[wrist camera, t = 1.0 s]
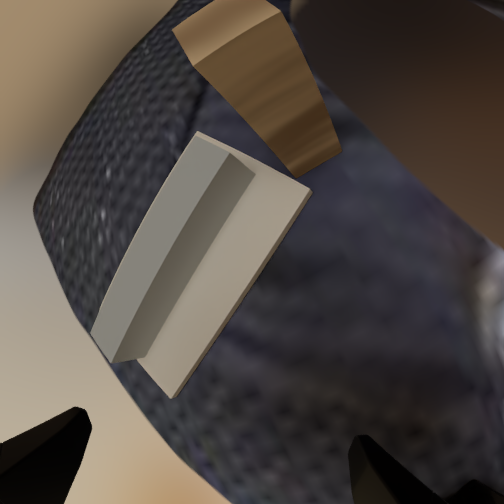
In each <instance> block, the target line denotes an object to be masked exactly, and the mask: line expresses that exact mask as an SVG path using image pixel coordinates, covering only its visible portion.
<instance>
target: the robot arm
mask: <svg viewBox="0 0 504 504" xmlns="http://www.w3.org/2000/svg"><path fill="white" fill-rule="evenodd" d="M91 431H92V424H91V422H90V419H89V417H88V414H87V412H86V410H85V409H82V408H79V407H73V408H71V409H69V410H67V411H65V412H63V413H61V414H59V415H57V416H55V417H53V418H52V419H50V420H48V421H46V422H44V423H42V424H40V425H38V426H36V427H34V428H32V429H30V430H28V431H25V432H24V433H22V434H19V435H17V436H15V437H13V438H11V439H9V440H7V441H5V442H3V443H0V504H64V502H65V500H66V497H67V495H68V493H69V490H70V488H71V486H72V483H73V481H74V479H75V476H76V474H77V471H78V469H79V467H80V465H81V462H82V459H83V456H84V453H85V449H86V446H87V443H88V440H89V437H90V434H91ZM348 459H349V468H350V478H351V489H352V495H353V500H354V504H504V496H503V495H501V494H499V493H497V492H496V491H494V490H492V489H490V488H489V487H487V486H485V485H483V484H482V483H480V482H478V481H477V480H473V481H471V482H469V483H468V484H467V485H466V486H465V487H464V488H462V489H461V490H460V491H459V492H458V493H457V494H456V495H454V496H453V497H452V498H451V499H450V500H448V501H447V502H446V501H445V500H443V499H442V498H441V497H439V496H438V495H437V494H436V493H433V491H432V490H431V489H429V488H428V487H427V486H426V485H425V484H423V483H422V482H421V481H420V480H419V479H417V478H416V477H415V476H414V475H413V474H412V473H410V472H409V471H408V470H407V469H406V468H405V467H403V466H402V465H401V464H400V463H399V462H398V461H397V460H395V459H394V458H393V457H392V456H391V455H390V454H389V453H387V452H386V451H385V450H384V449H383V448H382V447H381V446H380V445H378V444H377V443H376V442H375V441H374V440H373V439H372V438H371V437H370V436H368V435H357V436H355V437H354V439H353V442H352V444H351V446H350V449H349V452H348ZM473 485H474V486H473ZM471 486H473V487H471Z"/></svg>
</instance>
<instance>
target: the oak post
mask: <svg viewBox="0 0 504 504" xmlns="http://www.w3.org/2000/svg"><path fill="white" fill-rule="evenodd" d="M172 30H173V32H174V34H175V36H176V37H177V39H178V41H179V42H180V44H181V46H182V48H183V49H184V51H185V53H186V55H187V56H188V58H189V60H190V62H191V63H192V65H193V67H194V68H195V69H196V70H197V71H199V72H200V73H201V74H202V75H203V76H204V77H205V78H206V79H207V80H208V81H209V83H210V84H211V85H212V86H213V87H214V88H215V89H216V90H217V91H218V92H219V93H220V94H221V95H222V96H223V97H224V98H225V99H226V100H227V101H228V102H229V103H230V104H231V105H232V106H233V107H234V109H235V110H236V111H237V112H238V113H239V114H240V115H241V116H242V117H243V118H244V119H245V120H246V122H247V123H248V124H249V125H250V126H251V127H252V128H253V129H254V130H255V132H256V133H257V134H258V135H259V136H260V137H261V138H262V139H263V141H264V142H265V143H266V144H267V145H268V146H269V147H270V149H271V150H272V151H273V152H274V153H275V154H276V156H277V157H278V158H279V159H280V160H281V161H282V163H283V164H284V165H285V166H286V167H287V169H288V170H289V171H290V172H291V173H292V175H293V176H294V177H295V178H298V177H300V176H301V175H303V174H305V173H306V172H308V171H310V170H311V169H313V168H315V167H317V166H318V165H320V164H322V163H323V162H325V161H327V160H328V159H330V158H332V157H334V156H335V155H337V154H339V153H341V152H342V149H341V146H340V143H339V140H338V138H337V135H336V132H335V130H334V127H333V124H332V122H331V119H330V116H329V114H328V111H327V109H326V106H325V104H324V101H323V99H322V96H321V94H320V92H319V89H318V87H317V85H316V82H315V80H314V78H313V75H312V73H311V71H310V69H309V66H308V64H307V62H306V60H305V58H304V56H303V54H302V51H301V49H300V47H299V45H298V43H297V41H296V39H295V37H294V35H293V33H292V31H291V29H290V27H289V25H288V23H287V22H286V20H285V18H284V16H283V14H282V12H281V11H280V10H279V9H277V8H276V7H274V6H273V5H272V4H270V3H269V2H267V1H266V0H215V1H213V2H212V3H210V4H208V5H207V6H205V7H204V8H202V9H201V10H199V11H198V12H196V13H195V14H193V15H192V16H190V17H189V18H187V19H186V20H185V21H183V22H182V23H180V24H179V25H178V26H176V27H175V28H174V29H172Z"/></svg>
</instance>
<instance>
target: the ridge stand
mask: <svg viewBox="0 0 504 504" xmlns="http://www.w3.org/2000/svg"><path fill="white" fill-rule="evenodd" d="M312 193H313V192H312V191H311V190H310V189H309V188H307V187H306V186H304V185H302V184H300V183H299V182H297V181H295V180H293V179H291V178H289V177H288V176H286V175H284V174H282V173H280V172H278V171H277V170H275V169H273V168H271V167H269V166H267V165H265V164H263V163H261V162H259V161H257V160H256V159H254V158H252V157H250V156H248V155H246V154H244V153H242V152H240V151H238V150H236V149H234V148H232V147H230V146H228V145H226V144H223V143H221V142H219V141H217V140H215V139H213V138H211V137H209V136H207V135H204V134H202V133H200V132H198V131H197V132H196V134H195V135H194V137H193V138H192V140H191V141H190V143H189V144H188V146H187V147H186V149H185V150H184V152H183V154H182V155H181V157H180V158H179V160H178V161H177V163H176V165H175V166H174V168H173V169H172V171H171V173H170V174H169V176H168V178H167V179H166V181H165V183H164V184H163V186H162V188H161V189H160V191H159V193H158V195H157V196H156V198H155V200H154V201H153V203H152V205H151V207H150V209H149V210H148V212H147V214H146V216H145V218H144V219H143V221H142V223H141V225H140V227H139V229H138V231H137V232H136V234H135V236H134V238H133V240H132V242H131V244H130V246H129V248H128V250H127V252H126V254H125V256H124V258H123V260H122V262H121V264H120V266H119V268H118V270H117V272H116V274H115V276H114V278H113V281H112V283H111V285H110V287H109V289H108V291H107V294H106V296H105V298H104V300H103V303H102V305H101V307H100V309H99V310H100V311H99V314H98V316H97V318H96V321H95V323H94V326H93V328H92V330H91V333H90V334H91V335H92V337H93V338H94V340H95V341H96V343H97V344H98V346H99V347H100V349H101V350H102V351H103V353H104V354H105V356H106V357H107V359H108V360H109V361H110V363H116V362H122V361H128V360H133V359H137V361H138V362H139V363H140V364H141V365H142V367H143V368H144V369H145V370H146V371H147V373H148V374H149V375H150V376H151V377H152V378H153V380H154V381H155V382H156V383H157V384H158V385H159V386H160V387H161V389H162V390H163V391H164V392H165V393H166V394H167V395H168V396H169V397H170V398H171V399H172V398H174V397H177V395H178V394H179V393H180V391H181V390H182V388H183V387H184V385H185V384H186V382H187V381H188V380H189V378H190V377H191V375H192V374H193V372H194V371H195V369H196V368H197V367H198V365H199V364H200V362H201V361H202V359H203V358H204V356H205V355H206V353H207V352H208V350H209V349H210V348H211V346H212V345H213V343H214V342H215V340H216V339H217V337H218V336H219V334H220V333H221V331H222V330H223V328H224V327H225V325H226V324H227V323H228V321H229V320H230V318H231V317H232V315H233V314H234V312H235V311H236V309H237V308H238V306H239V305H240V303H241V302H242V300H243V299H244V297H245V296H246V294H247V293H248V291H249V290H250V288H251V287H252V285H253V284H254V282H255V281H256V279H257V278H258V276H259V275H260V273H261V272H262V270H263V269H264V267H265V266H266V264H267V262H268V261H269V259H270V258H271V256H272V255H273V253H274V252H275V250H276V249H277V247H278V246H279V244H280V243H281V241H282V240H283V238H284V237H285V235H286V233H287V232H288V230H289V229H290V227H291V226H292V224H293V223H294V221H295V220H296V218H297V217H298V215H299V213H300V212H301V210H302V209H303V207H304V206H305V204H306V203H307V201H308V199H309V198H310V196H311V195H312Z"/></svg>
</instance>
